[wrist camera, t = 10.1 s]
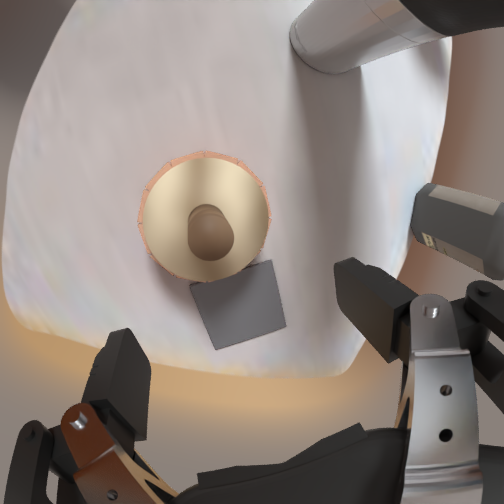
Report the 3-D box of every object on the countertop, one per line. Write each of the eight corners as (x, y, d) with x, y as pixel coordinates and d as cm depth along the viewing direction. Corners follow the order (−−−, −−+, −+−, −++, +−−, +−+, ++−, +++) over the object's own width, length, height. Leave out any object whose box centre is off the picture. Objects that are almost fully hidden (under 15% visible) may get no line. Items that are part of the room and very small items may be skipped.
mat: (270, 259, 33) (271, 260, 32) (285, 324, 36) (286, 326, 36) (189, 285, 31) (189, 286, 31) (215, 347, 35) (215, 349, 35)
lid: (249, 144, 23) (269, 140, 17) (275, 256, 27) (299, 283, 21) (129, 180, 22) (110, 187, 16) (168, 289, 26) (164, 325, 20)
